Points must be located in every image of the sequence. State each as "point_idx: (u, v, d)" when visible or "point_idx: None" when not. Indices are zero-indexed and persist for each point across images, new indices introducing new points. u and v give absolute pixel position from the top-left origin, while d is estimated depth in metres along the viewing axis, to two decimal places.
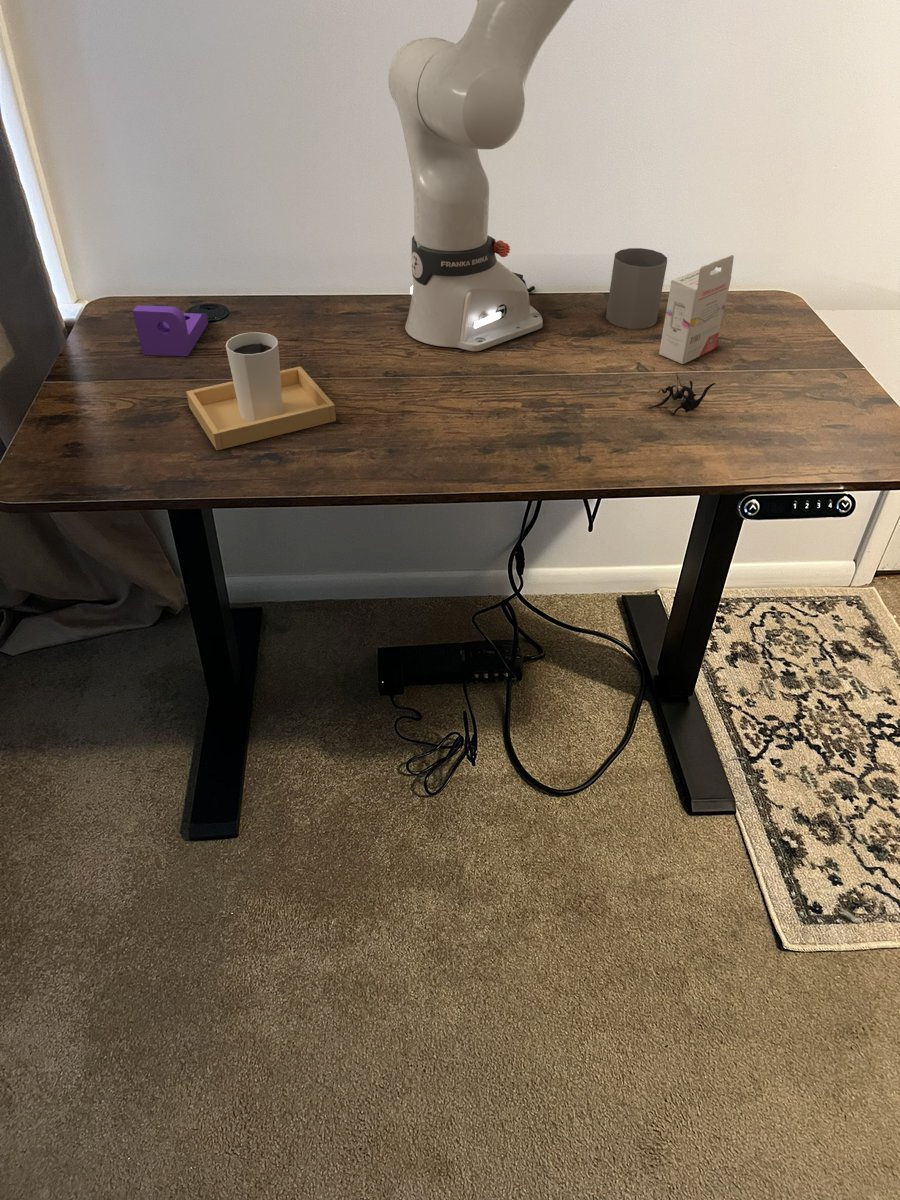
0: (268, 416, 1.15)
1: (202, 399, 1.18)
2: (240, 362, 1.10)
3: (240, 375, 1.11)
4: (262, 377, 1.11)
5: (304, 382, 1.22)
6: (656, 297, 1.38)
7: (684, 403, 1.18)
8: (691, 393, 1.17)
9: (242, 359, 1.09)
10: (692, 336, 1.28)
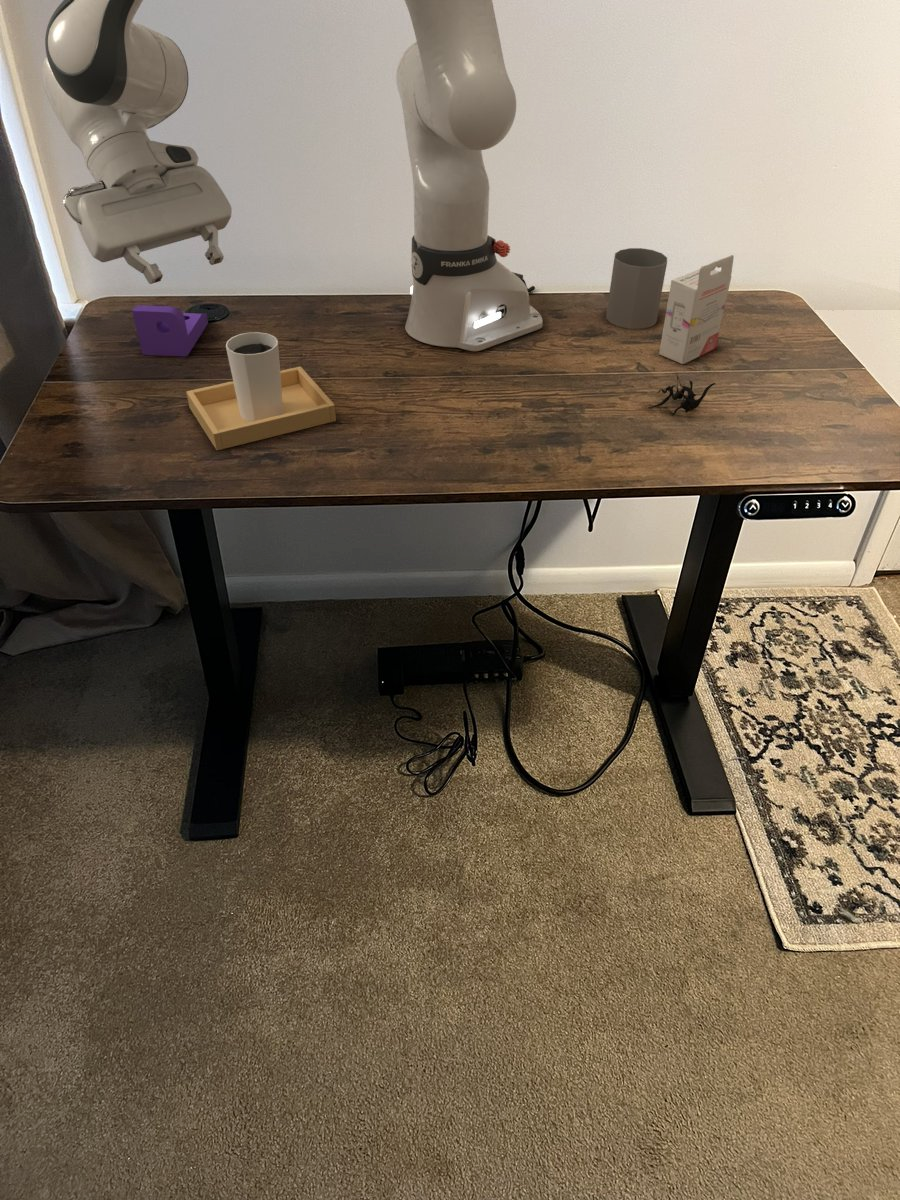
0: (268, 416, 1.15)
1: (202, 399, 1.18)
2: (240, 362, 1.10)
3: (240, 375, 1.11)
4: (262, 377, 1.11)
5: (304, 382, 1.22)
6: (656, 297, 1.38)
7: (684, 403, 1.18)
8: (691, 393, 1.17)
9: (242, 359, 1.09)
10: (692, 336, 1.28)
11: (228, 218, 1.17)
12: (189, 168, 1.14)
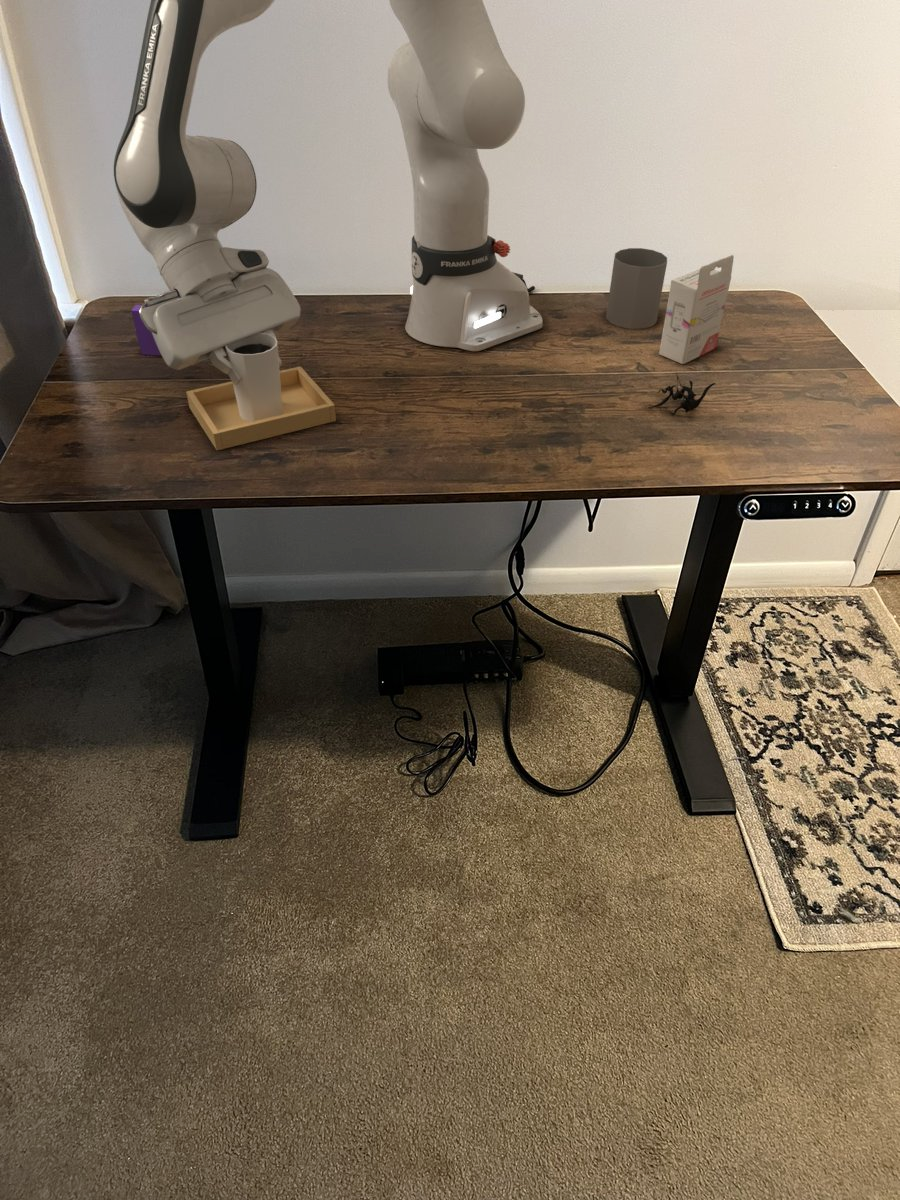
0: (267, 416, 1.15)
1: (202, 399, 1.18)
2: (239, 362, 1.10)
3: (239, 375, 1.11)
4: (261, 377, 1.11)
5: (304, 382, 1.22)
6: (656, 297, 1.38)
7: (684, 403, 1.18)
8: (691, 393, 1.17)
9: (241, 359, 1.09)
10: (692, 336, 1.28)
11: (297, 318, 1.17)
12: (260, 271, 1.14)
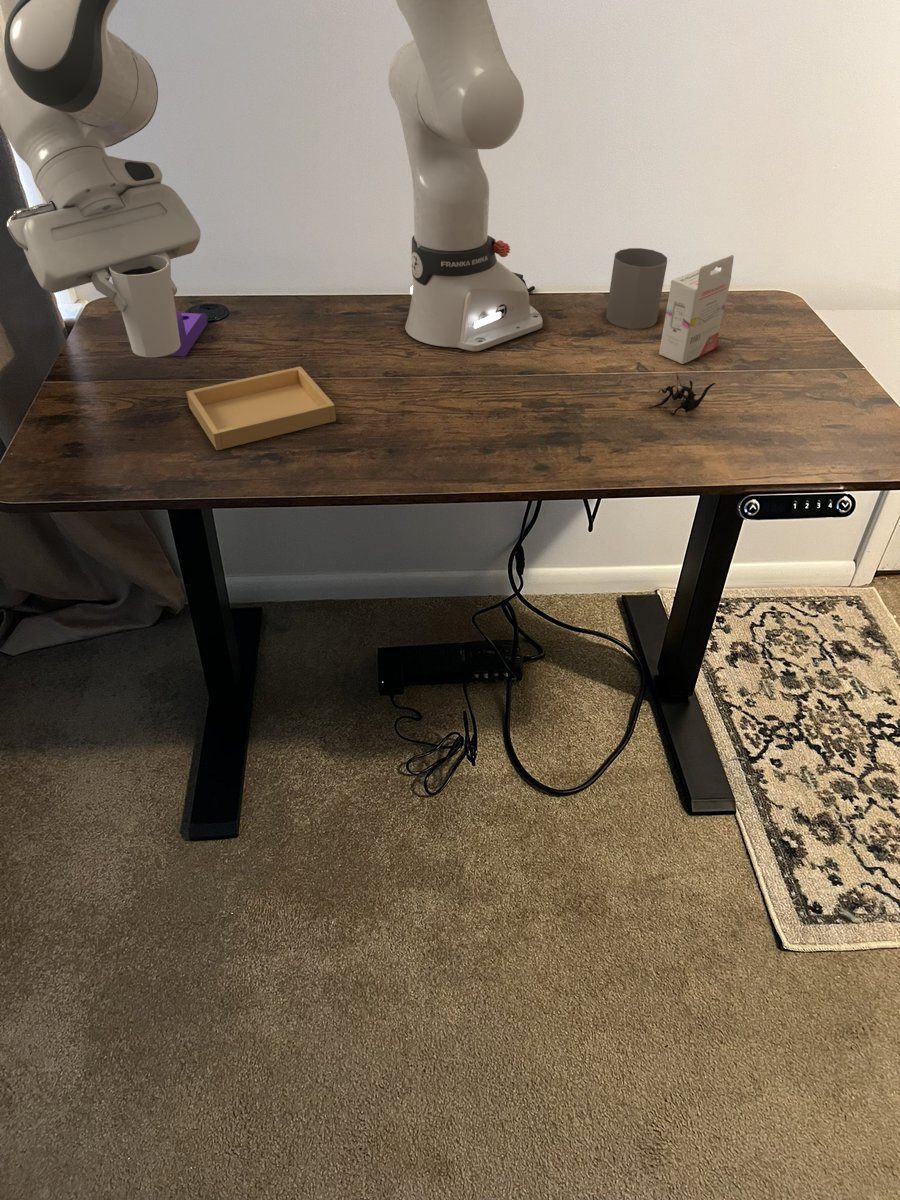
0: (161, 350, 1.03)
1: (202, 399, 1.18)
2: (123, 284, 0.97)
3: (125, 300, 0.99)
4: (150, 303, 0.99)
5: (304, 382, 1.22)
6: (656, 297, 1.38)
7: (684, 403, 1.18)
8: (691, 393, 1.17)
9: (125, 281, 0.97)
10: (692, 336, 1.28)
11: (196, 242, 1.05)
12: (152, 186, 1.02)
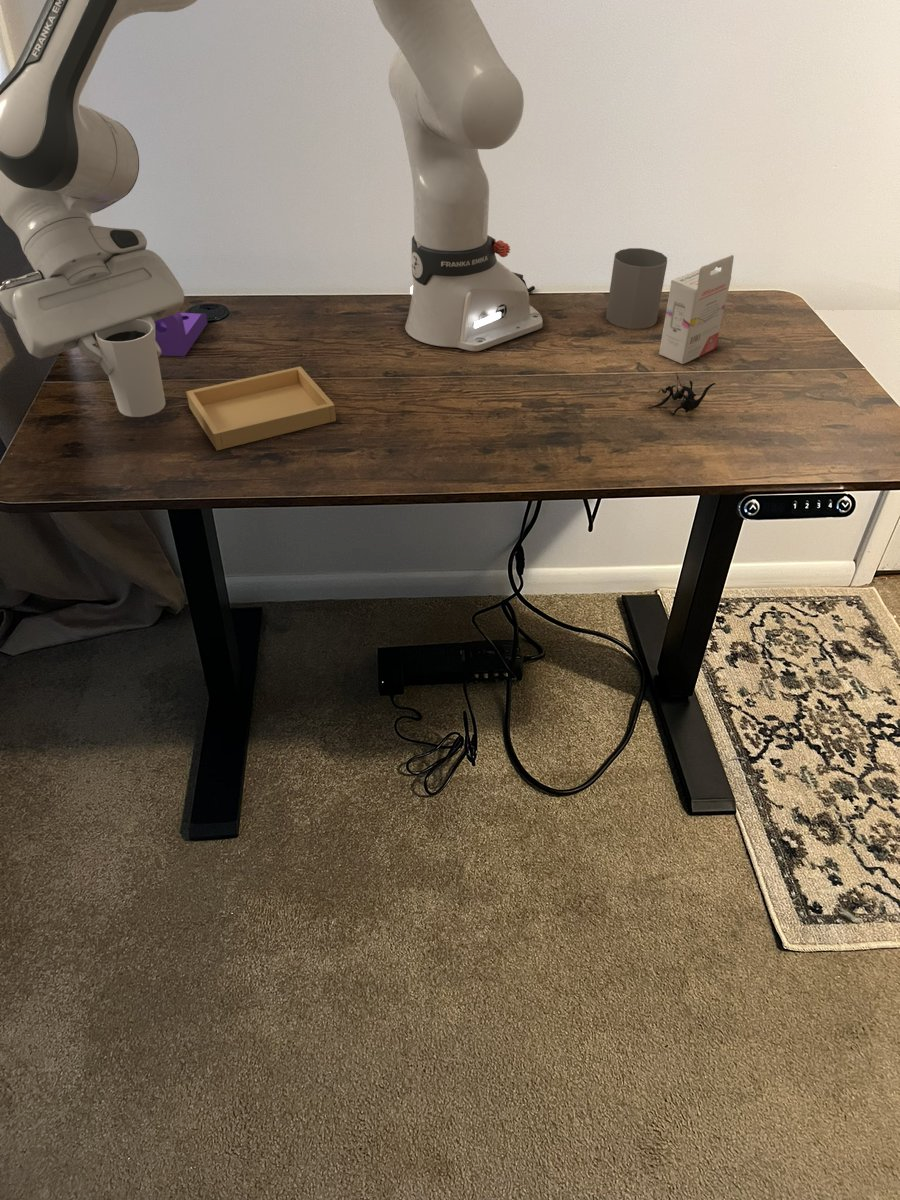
0: (146, 410, 1.07)
1: (202, 399, 1.18)
2: (109, 350, 1.01)
3: (111, 364, 1.02)
4: (135, 367, 1.03)
5: (304, 382, 1.22)
6: (656, 297, 1.38)
7: (684, 403, 1.18)
8: (691, 393, 1.17)
9: (111, 347, 1.01)
10: (692, 336, 1.28)
11: (180, 304, 1.08)
12: (137, 253, 1.05)
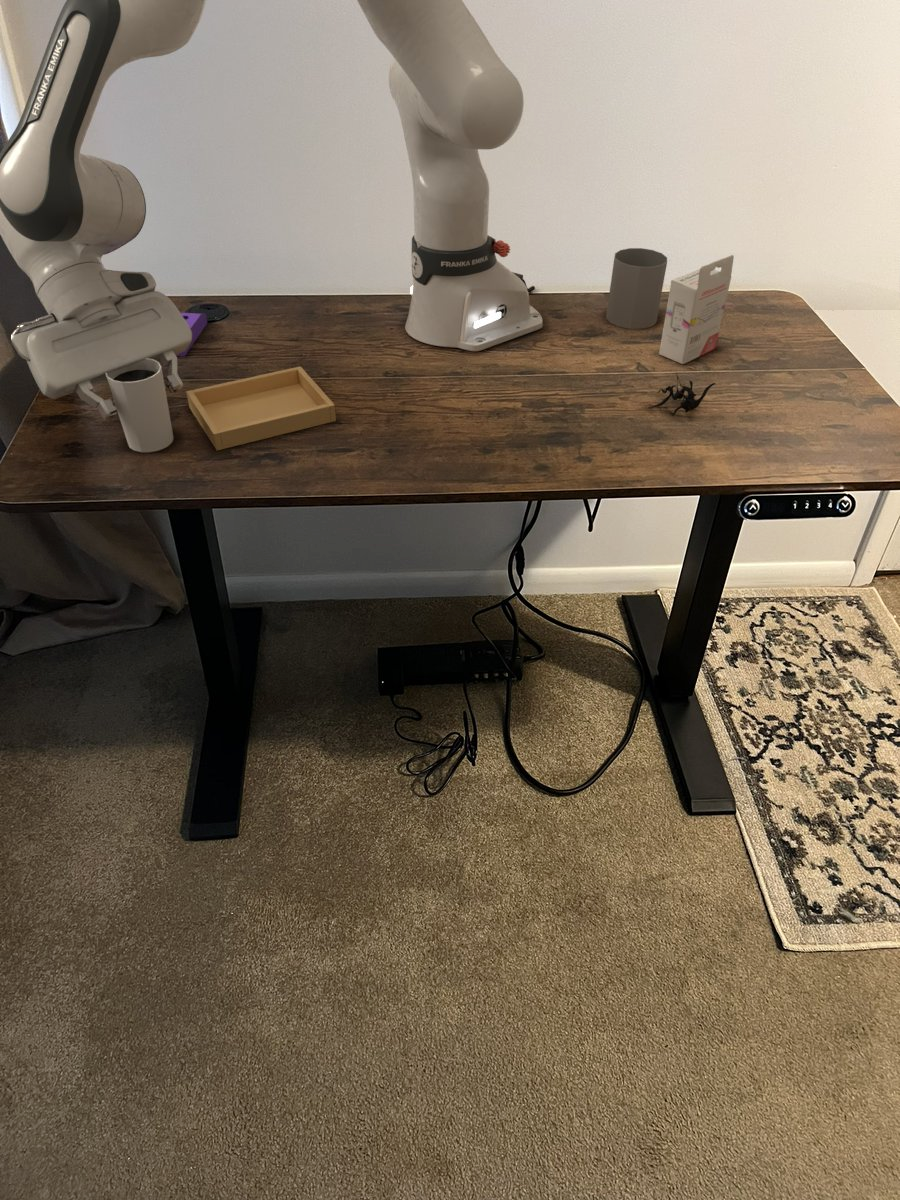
0: (155, 445, 1.10)
1: (202, 399, 1.18)
2: (119, 390, 1.04)
3: (121, 403, 1.06)
4: (144, 405, 1.06)
5: (304, 382, 1.22)
6: (656, 297, 1.38)
7: (684, 403, 1.18)
8: (691, 393, 1.17)
9: (121, 387, 1.04)
10: (692, 336, 1.28)
11: (188, 343, 1.12)
12: (146, 295, 1.09)
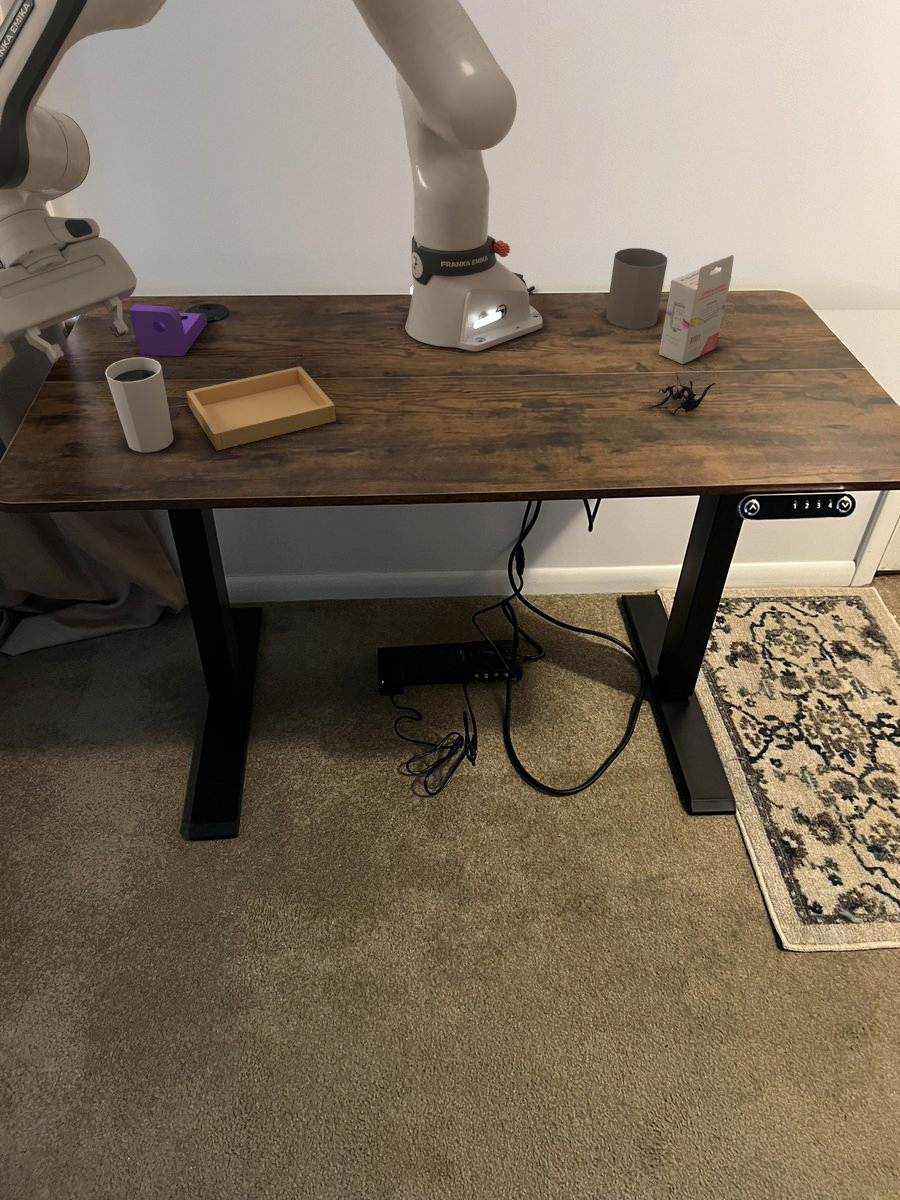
0: (155, 445, 1.10)
1: (202, 399, 1.18)
2: (119, 390, 1.04)
3: (121, 403, 1.06)
4: (144, 405, 1.06)
5: (304, 382, 1.22)
6: (656, 297, 1.38)
7: (684, 403, 1.18)
8: (691, 393, 1.17)
9: (121, 387, 1.04)
10: (692, 336, 1.28)
11: (133, 289, 1.17)
12: (90, 241, 1.13)
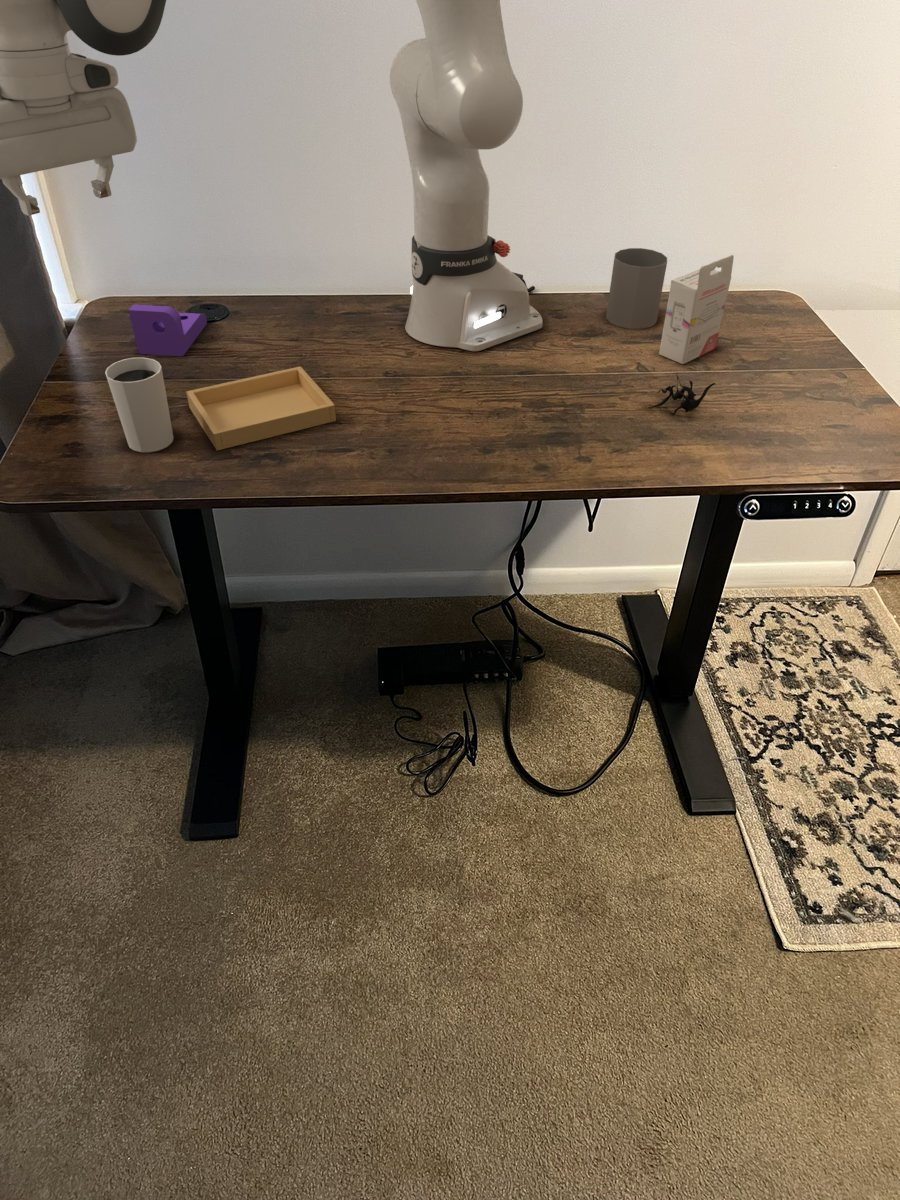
0: (155, 445, 1.10)
1: (202, 399, 1.18)
2: (119, 390, 1.04)
3: (121, 403, 1.06)
4: (144, 405, 1.06)
5: (304, 382, 1.22)
6: (656, 297, 1.38)
7: (684, 403, 1.18)
8: (691, 393, 1.17)
9: (121, 387, 1.04)
10: (692, 336, 1.28)
11: None
12: (104, 92, 1.00)
